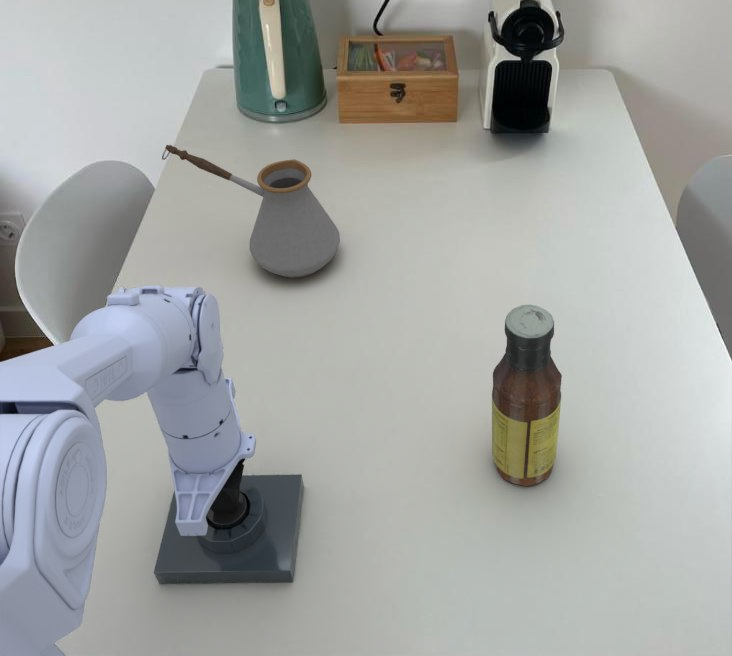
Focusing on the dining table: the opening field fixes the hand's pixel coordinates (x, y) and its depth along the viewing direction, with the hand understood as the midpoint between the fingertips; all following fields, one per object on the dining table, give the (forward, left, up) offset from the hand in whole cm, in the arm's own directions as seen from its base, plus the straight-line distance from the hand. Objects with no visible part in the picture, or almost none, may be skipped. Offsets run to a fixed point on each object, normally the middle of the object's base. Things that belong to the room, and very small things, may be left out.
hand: (226, 506), depth 73 cm
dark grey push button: (0, 0, -2) cm, 2 cm away
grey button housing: (0, 0, -4) cm, 4 cm away
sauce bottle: (+20, -20, -4) cm, 29 cm away
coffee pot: (+34, +23, -4) cm, 41 cm away
